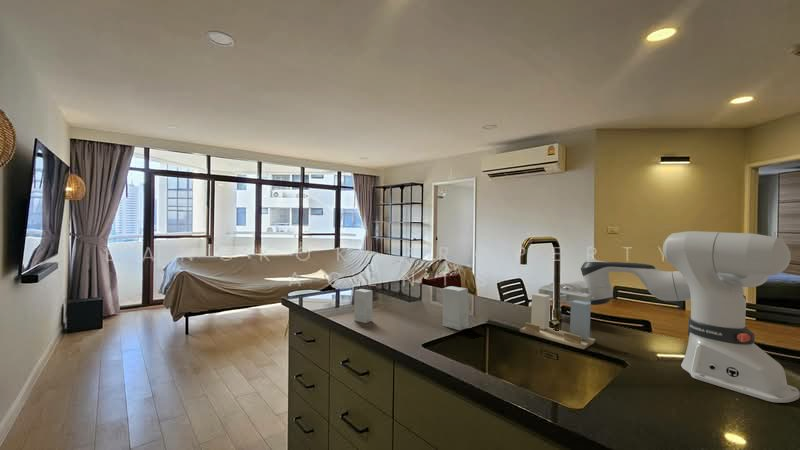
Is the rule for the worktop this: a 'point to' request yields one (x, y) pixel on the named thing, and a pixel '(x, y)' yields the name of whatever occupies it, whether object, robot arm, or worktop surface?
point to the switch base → (557, 336)
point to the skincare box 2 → (455, 307)
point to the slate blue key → (580, 319)
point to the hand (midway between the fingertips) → (555, 297)
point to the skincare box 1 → (363, 305)
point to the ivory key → (540, 310)
